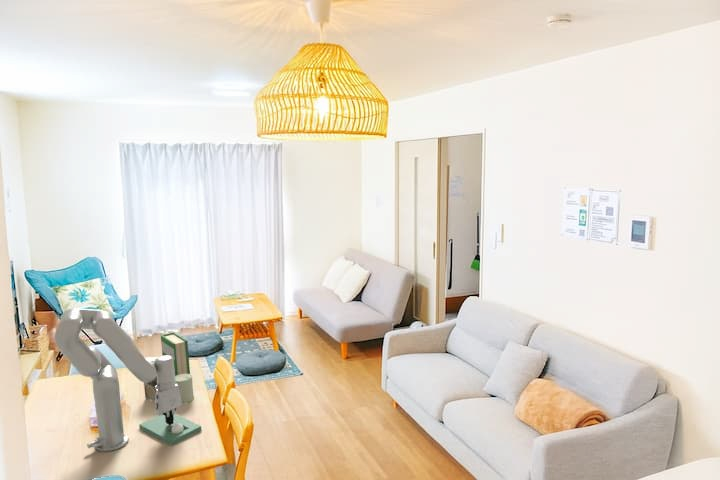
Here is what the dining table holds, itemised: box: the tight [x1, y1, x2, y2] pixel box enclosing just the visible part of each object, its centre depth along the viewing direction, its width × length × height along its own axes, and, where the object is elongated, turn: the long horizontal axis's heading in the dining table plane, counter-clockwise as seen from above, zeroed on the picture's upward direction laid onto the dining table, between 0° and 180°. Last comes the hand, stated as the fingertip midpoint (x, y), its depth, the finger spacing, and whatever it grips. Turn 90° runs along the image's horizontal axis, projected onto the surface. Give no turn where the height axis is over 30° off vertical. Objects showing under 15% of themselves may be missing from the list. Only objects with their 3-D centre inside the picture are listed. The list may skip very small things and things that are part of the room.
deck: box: [138, 413, 202, 446], centre depth 234 cm, size 15×24×2 cm, turn 53°
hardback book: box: [160, 331, 191, 376], centre depth 283 cm, size 18×7×24 cm, turn 41°
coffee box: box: [143, 377, 157, 402], centre depth 264 cm, size 9×6×16 cm
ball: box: [171, 423, 184, 435], centre depth 229 cm, size 5×5×5 cm
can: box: [175, 373, 195, 405], centre depth 262 cm, size 9×9×12 cm
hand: (169, 423), depth 234 cm, fingers closed
